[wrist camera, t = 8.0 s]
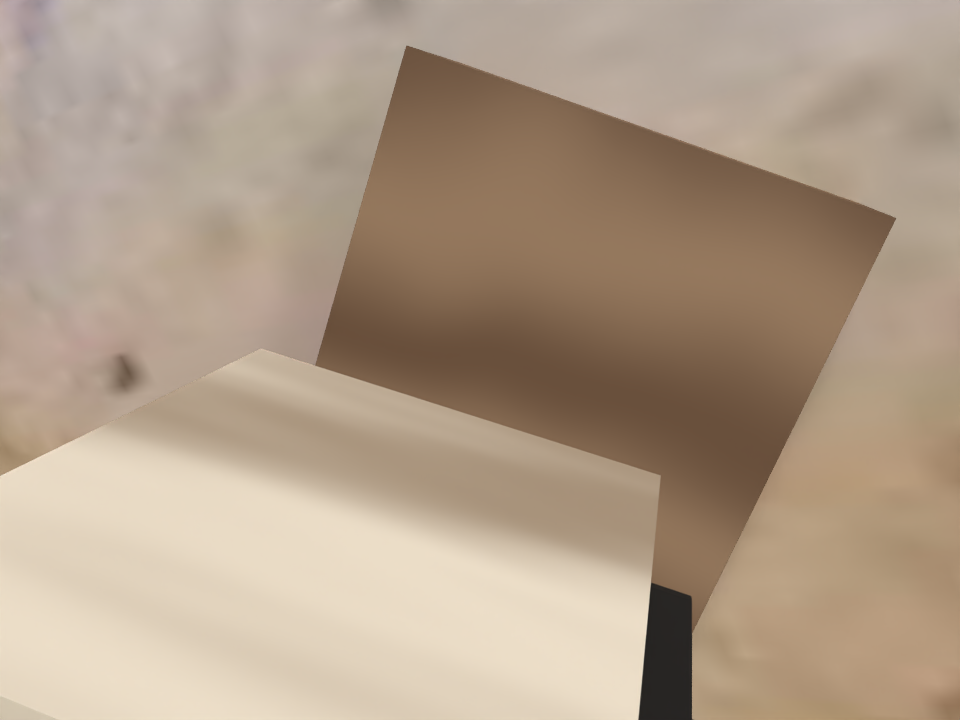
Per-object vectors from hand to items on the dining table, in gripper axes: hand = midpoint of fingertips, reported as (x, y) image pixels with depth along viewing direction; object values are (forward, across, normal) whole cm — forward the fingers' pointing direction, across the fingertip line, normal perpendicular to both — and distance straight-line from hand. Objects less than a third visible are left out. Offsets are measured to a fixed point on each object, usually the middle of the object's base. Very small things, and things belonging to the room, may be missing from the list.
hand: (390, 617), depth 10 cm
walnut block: (+17, 0, 0) cm, 17 cm away
